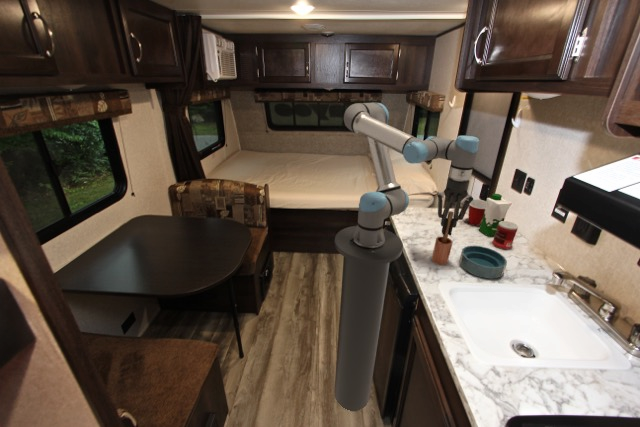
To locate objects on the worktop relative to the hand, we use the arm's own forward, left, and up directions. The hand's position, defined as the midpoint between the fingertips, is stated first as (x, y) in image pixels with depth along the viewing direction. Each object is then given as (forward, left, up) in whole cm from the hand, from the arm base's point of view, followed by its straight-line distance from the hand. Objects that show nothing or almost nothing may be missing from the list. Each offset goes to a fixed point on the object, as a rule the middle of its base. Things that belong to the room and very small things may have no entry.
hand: (446, 233), depth 119 cm
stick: (0, 0, -12) cm, 12 cm away
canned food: (+31, +21, -14) cm, 40 cm away
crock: (0, 0, -13) cm, 13 cm away
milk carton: (+29, +33, -14) cm, 46 cm away
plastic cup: (+24, +43, -14) cm, 51 cm away
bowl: (+16, -1, -13) cm, 21 cm away
